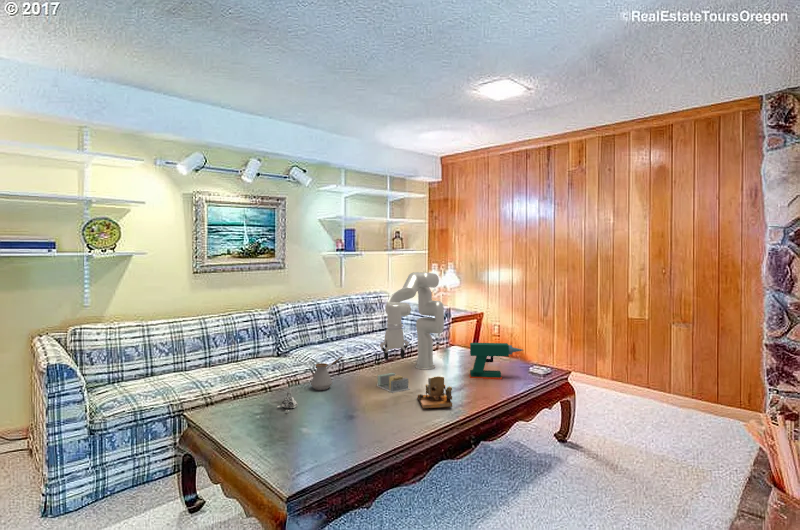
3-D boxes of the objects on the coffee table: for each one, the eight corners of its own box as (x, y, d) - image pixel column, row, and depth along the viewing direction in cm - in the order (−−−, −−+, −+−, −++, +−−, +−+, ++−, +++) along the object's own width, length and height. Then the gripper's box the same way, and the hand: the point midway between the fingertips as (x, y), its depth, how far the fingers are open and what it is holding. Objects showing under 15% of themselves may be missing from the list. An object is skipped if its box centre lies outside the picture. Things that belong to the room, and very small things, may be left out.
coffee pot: (319, 392, 238) (319, 364, 238) (306, 388, 245) (306, 360, 245) (350, 384, 254) (350, 357, 253) (337, 380, 261) (336, 354, 261)
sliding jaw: (377, 384, 249) (377, 375, 249) (392, 381, 255) (392, 372, 255) (380, 385, 247) (380, 376, 247) (395, 382, 253) (395, 373, 253)
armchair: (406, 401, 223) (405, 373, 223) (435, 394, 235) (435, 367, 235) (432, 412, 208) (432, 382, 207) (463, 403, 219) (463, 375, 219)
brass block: (389, 387, 244) (389, 376, 244) (398, 385, 247) (398, 374, 247) (393, 389, 240) (393, 378, 240) (402, 387, 244) (402, 376, 244)
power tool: (523, 377, 268) (523, 343, 267) (525, 380, 261) (525, 345, 260) (469, 375, 271) (469, 342, 270) (469, 378, 264) (469, 344, 263)
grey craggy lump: (271, 409, 213) (271, 393, 212) (281, 403, 221) (281, 388, 221) (288, 411, 210) (288, 394, 210) (298, 405, 218) (298, 389, 218)
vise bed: (376, 386, 250) (376, 375, 249) (392, 382, 256) (392, 372, 256) (392, 393, 236) (392, 382, 236) (409, 389, 243) (409, 378, 243)
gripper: (405, 325, 252) (405, 355, 252) (376, 327, 244) (377, 359, 244) (411, 326, 245) (411, 358, 245) (382, 329, 237) (383, 361, 237)
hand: (394, 358), depth 245 cm, fingers open, 9 cm apart
